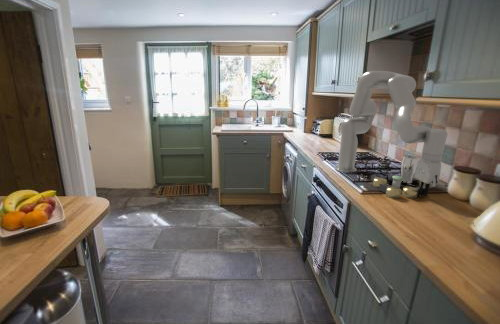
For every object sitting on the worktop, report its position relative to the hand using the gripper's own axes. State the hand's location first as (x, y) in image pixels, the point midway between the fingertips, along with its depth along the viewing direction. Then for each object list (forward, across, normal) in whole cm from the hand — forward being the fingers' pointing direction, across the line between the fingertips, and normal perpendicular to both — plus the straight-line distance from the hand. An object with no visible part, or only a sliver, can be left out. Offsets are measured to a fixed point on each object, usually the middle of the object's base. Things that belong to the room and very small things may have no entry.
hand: (422, 195), depth 121 cm
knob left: (+1, -16, -13) cm, 20 cm away
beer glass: (+3, -21, +5) cm, 22 cm away
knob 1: (+1, -3, -14) cm, 14 cm away
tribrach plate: (+2, -7, -9) cm, 12 cm away
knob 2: (+1, -2, -3) cm, 4 cm away
